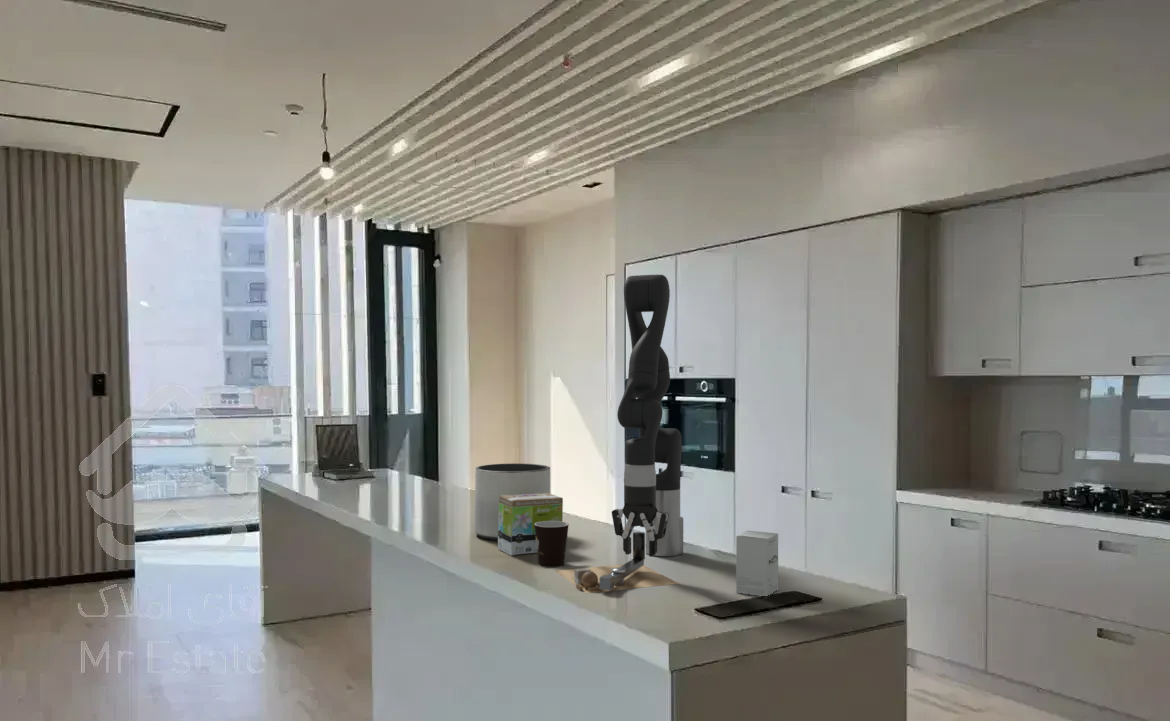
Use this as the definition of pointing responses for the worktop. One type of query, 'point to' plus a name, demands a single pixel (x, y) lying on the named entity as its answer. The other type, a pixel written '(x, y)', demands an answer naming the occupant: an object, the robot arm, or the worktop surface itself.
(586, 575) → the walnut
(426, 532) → the worktop surface
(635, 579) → the press base
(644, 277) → the robot arm
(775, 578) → the supplement box
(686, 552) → the worktop surface
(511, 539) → the tea box
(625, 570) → the lever
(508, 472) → the planter
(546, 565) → the coffee mug
